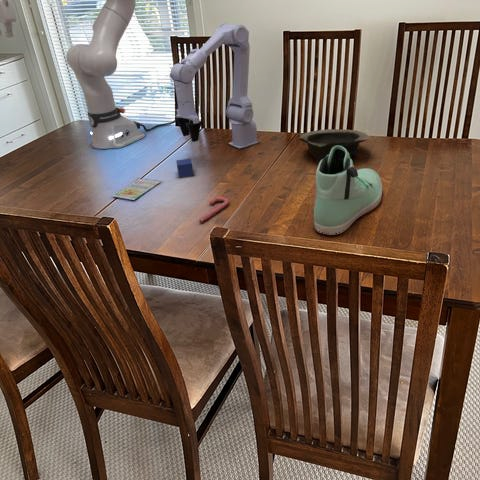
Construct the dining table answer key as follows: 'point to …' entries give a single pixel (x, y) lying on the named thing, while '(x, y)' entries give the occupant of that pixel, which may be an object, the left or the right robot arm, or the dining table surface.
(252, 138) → the right robot arm
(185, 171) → the cube
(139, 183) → the baking ingredient package
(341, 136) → the stone bowl
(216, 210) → the candy cane
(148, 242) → the dining table surface
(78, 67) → the left robot arm
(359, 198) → the sneaker
